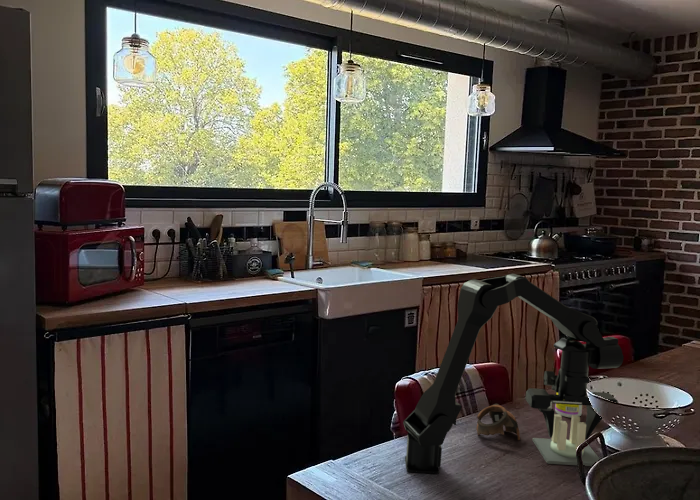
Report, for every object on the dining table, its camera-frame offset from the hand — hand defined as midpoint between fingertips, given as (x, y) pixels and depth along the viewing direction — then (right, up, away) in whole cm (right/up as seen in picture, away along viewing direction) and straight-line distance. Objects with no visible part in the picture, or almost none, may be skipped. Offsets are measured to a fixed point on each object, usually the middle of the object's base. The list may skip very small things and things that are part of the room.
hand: (568, 437), depth 140 cm
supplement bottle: (+9, -1, +25) cm, 27 cm away
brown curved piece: (-14, -2, +9) cm, 16 cm away
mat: (0, -3, 0) cm, 4 cm away
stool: (0, -3, 0) cm, 3 cm away
